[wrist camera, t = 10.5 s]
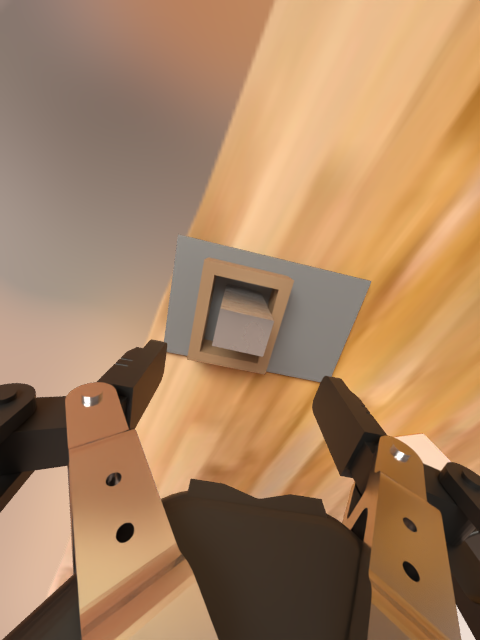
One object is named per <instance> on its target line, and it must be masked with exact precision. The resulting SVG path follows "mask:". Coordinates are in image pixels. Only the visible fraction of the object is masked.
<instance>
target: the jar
mask: <svg viewBox="0 0 480 640" xmlns="http://www.w3.org/2000/svg"><path fill="white" fill-rule="evenodd" d="M394 438H396V439H398V440H400V441H402V442H404V443H405V444H407V445H408V446H409V447H410V448H412V449H413V450H414V451H415V452H416V453H417V454H418V456H419V457H420V458H421V460H422V462H423V463H424V464H426V465H428V466H431V467H433V468H435V469H438V470H440V471H441V470H442V469H443V467H444V466H445V465H446V464H447V463H448V462H451V461H450V460H449V459H448V458H447V457H446V456H445V455H444V454H443V453H442V452H441V451H440V450H439V449H438V448H437V447H436V446H435V445H434V444H433V443H432V442H431V441H430V439H429V438H428V437H427V436H426V435H425V434H423V433H422V434H414V435H407V436H399V437H394ZM465 542H466V543H467V544H468V546H469V547H470V549H471V550H472V551H473V553H474V554H475V556H476V557H477V558H478V560H479V561H480V533H479V532H478V530H477V529H475V530H474V531H473V532H472V533H471V534H470V535H469V536H468V537H467V538H466V539H465Z"/></svg>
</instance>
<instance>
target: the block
mask: <svg viewBox="0 0 480 640" xmlns="http://www.w3.org/2000/svg"><path fill="white" fill-rule="evenodd" d="M273 323H274V319H273V317H272V315H271V313H270V311H269V309H268V306H267V304H266V302H265V300H264V298H263V296H262V294H261V292H259V291H255V290H250V289H246V288H242V287H238V286H234V285H230V284H227V285H226V289H225V292H224V296H223V300H222V304H221V307H220V312H219V316H218V321H217V325H216V329H215V334H214V338H213V343H212V346H215V347H220V348H225V349H229V350H234V351H238V352H243V353H248V354H252V355H257V356H262V357H263V355H264V352H265V349H266V346H267V343H268V339H269V336H270V333H271V330H272V327H273Z"/></svg>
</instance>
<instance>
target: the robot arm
mask: <svg viewBox="0 0 480 640" xmlns="http://www.w3.org/2000/svg"><path fill="white" fill-rule="evenodd" d="M166 353H167V343H166V342H161V341H156V340H150V341H149V342H148V343H147V344H146V346H145V347H144V348H139V347H136V348H134V349H132V350H130V351H128V352H126V353H125V354H124V355H123V356H122V357H121V359H119V360H118V361H117V362H116V364H114V365H113V366H112V367H111V368H110V369H109V370H108V371H107V372H106V373H105V374H104V375H103V376H102V377H101V378H100V379H99V380H98V381H97V382H94V383H87V384H84V385H81V386H78V387H76V388H74V389H73V390H72V391H70V392H69V393H68V395H67V396H63V397H40V398H36V392H35V389H34V388H33V387H32V386H30V385H27V384H21V383H12V384H4V385H0V512H1V511H2V510H3V509H4V507H5V506H6V505H7V504H8V502H9V501H10V500H11V499H12V498H13V496H14V495H15V494H16V493H17V491H18V490H19V489H20V488H21V486H22V485H23V484H24V483H25V482H26V480H27V479H28V478H29V477H30V475H31V474H32V473H33V472H34V471H35V470H40V469H47V468H54V467H61V466H68V481H69V482H68V483H69V499H70V516H71V517H70V518H71V538H72V558H73V575H72V576H71V577H70V578H69V579H68V580H67V581H66V582H65V583H64V584H63V585H62V586H60V587H59V588H58V589H57V590H56V591H55V592H54V593H53V594H52V595H51V596H49V597H48V598H47V599H46V600H45V601H44V602H43V603H42V604H41V605H40V606H39V607H37V608H36V609H35V610H34V611H33V612H32V613H31V614H30V615H29V616H28V617H27V618H25V619H24V620H23V621H22V622H21V623H20V624H19V625H18V626H17V627H16V628H14V629H13V630H12V631H11V632H10V633H9V634H8V635H7V636H6V637H5V638H4V639H3V640H461V636H460V628H459V622H458V616H457V609H456V605H457V607H458V609H459V611H460V612H461V614H462V616H463V618H464V619H465V621H466V623H467V625H468V627H469V628H470V630H471V632H472V634H473V635H474V637H475V639H476V640H480V561H479V560H478V558H477V557H476V556H475V554H474V553H473V551H472V550H471V549H470V547H469V546H468V544H467V543H466V542H465V539H466V538H467V537H468V536H469V535H470V534H471V533H472V532H473V531H474V530H475V529H477V530H478V532H479V533H480V476H479V475H477V474H476V473H474V472H473V471H471V470H470V469H468V468H466V467H464V466H462V465H460V464H457V463H454V462H448V463H447V464H446V465H445V466H444V467H443V469H442V470H441V471H440V470H438V469H435V468H433V467H431V466H428V465H426V464H424V463H423V462H422V460H421V458H420V457H419V456H418V454H417V453H416V452H415V451H414V450H413V449H412V448H410V447H409V446H408V445H407V444H405V443H404V442H402V441H400V440H398V439H396V438H394V437H391V436H387V434H386V433H385V432H384V430H383V429H382V428H381V427H380V425H379V424H378V423H377V421H376V420H375V419H374V417H373V416H372V415H371V414H370V412H369V411H368V409H367V408H365V405H364V404H363V403H362V401H361V400H360V399H359V398H358V397H357V396H356V395H355V394H354V393H352V392H351V391H350V390H349V389H348V387H347V386H346V385H345V383H344V382H343V381H342V379H340V378H335V377H330V376H324V377H323V379H322V381H321V383H320V386H319V388H318V390H317V393H316V395H315V398H314V400H313V405H312V408H313V413H314V416H315V418H316V420H317V423H318V425H319V427H320V430H321V432H322V434H323V437H324V439H325V441H326V444H327V446H328V448H329V451H330V453H331V455H332V457H333V460H334V462H335V464H336V467H337V469H338V471H339V474H340V476H344V477H350V478H353V479H354V481H355V482H354V484H353V485H352V487H351V491H350V494H349V498H348V502H347V506H346V510H345V514H344V518H343V522H342V523H341V522H339V521H338V520H337V519H335V518H333V517H332V516H330V515H328V514H326V512H325V509H324V506H323V503H322V499H316V498H310V497H304V496H297V495H291V494H290V495H284V496H277V497H270V498H264V499H257V498H254V497H252V496H250V495H248V494H245V493H243V492H241V491H239V490H237V489H234V488H232V487H230V486H228V485H225V484H221V483H215V482H209V481H202V480H196V479H191V480H190V484H189V489H188V491H184V492H179V493H176V494H172V495H169V496H167V497H165V498H162V499H160V496H159V493H158V490H157V487H156V485H155V482H154V479H153V476H152V473H151V471H150V468H149V465H148V462H147V459H146V457H145V454H144V451H143V448H142V445H141V443H140V440H139V437H138V434H137V432H136V430H135V428H136V426H137V424H138V422H139V420H140V419H141V417H142V415H143V413H144V411H145V409H146V408H147V406H148V404H149V402H150V400H151V399H152V397H153V395H154V393H155V391H156V390H157V388H158V386H159V384H160V382H161V380H162V377H163V373H164V367H165V360H166Z"/></svg>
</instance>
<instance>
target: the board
mask: <svg viewBox="0 0 480 640" xmlns="http://www.w3.org/2000/svg"><path fill="white" fill-rule="evenodd" d="M227 284H230V285H234V286H238V287H242V288H246V289H250V290H255V291H259V292H261V294H262V296H263V298H264V300H265V302H266V304H267V306H268V309H269V311H270V313H271V315H272V317H273V319H274V323H273V327H272V330H271V333H270V336H269V339H268V343H267V346H266V349H265V352H264V355H263V357H262V356H257V355H252V354H248V353H243V352H238V351H234V350H229V349H225V348H220V347H215V346H212V343H213V338H214V334H215V329H216V325H217V321H218V316H219V312H220V307H221V304H222V300H223V296H224V292H225V289H226V285H227ZM370 284H371V281H369V280H365V279H360V278H356V277H352V276H348V275H344V274H340V273H336V272H332V271H327V270H323V269H319V268H315V267H311V266H307V265H303V264H299V263H294V262H290V261H286V260H282V259H278V258H274V257H270V256H266V255H261V254H257V253H253V252H249V251H245V250H241V249H237V248H233V247H228V246H224V245H220V244H216V243H212V242H208V241H204V240H200V239H195V238H191V237H187V236H183V235H178V240H177V248H176V255H175V262H174V270H173V278H172V285H171V293H170V300H169V308H168V316H167V323H166V331H165V338H164V342H166V343H167V352H170V353H175V354H180V355H185V356H188V357H187V359H188V360H193V361H198V362H203V363H208V364H213V365H219V366H224V367H229V368H234V369H239V370H244V371H249V372H254V373H259V374H264V375H265V373H266V372H271V373H276V374H281V375H286V376H291V377H297V378H302V379H307V380H312V381H317V382H321V381H322V379H323V377H324V376H330V377H331V376H332V373H333V371H334V369H335V366H336V364H337V362H338V359H339V357H340V355H341V352H342V350H343V347H344V345H345V343H346V340H347V338H348V336H349V333H350V331H351V329H352V326H353V324H354V321H355V319H356V317H357V314H358V312H359V310H360V307H361V305H362V303H363V300H364V298H365V295H366V293H367V291H368V288H369V286H370Z"/></svg>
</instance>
